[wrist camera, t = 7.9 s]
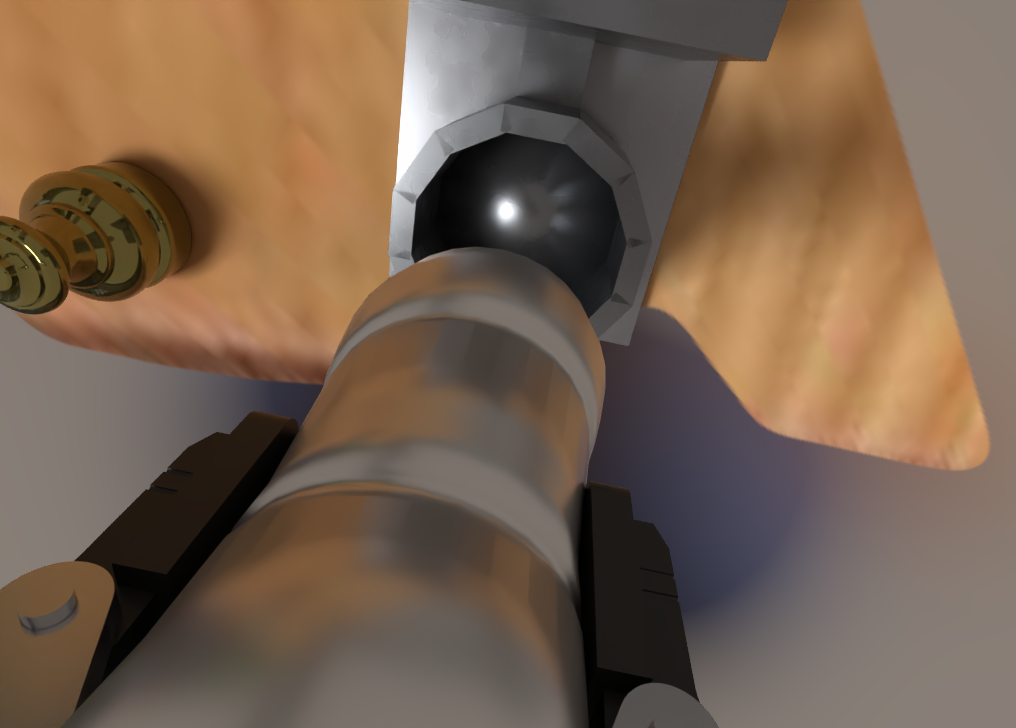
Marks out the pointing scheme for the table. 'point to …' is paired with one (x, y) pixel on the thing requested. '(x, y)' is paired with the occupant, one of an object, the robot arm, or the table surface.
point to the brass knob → (90, 237)
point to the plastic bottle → (403, 529)
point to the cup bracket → (560, 132)
